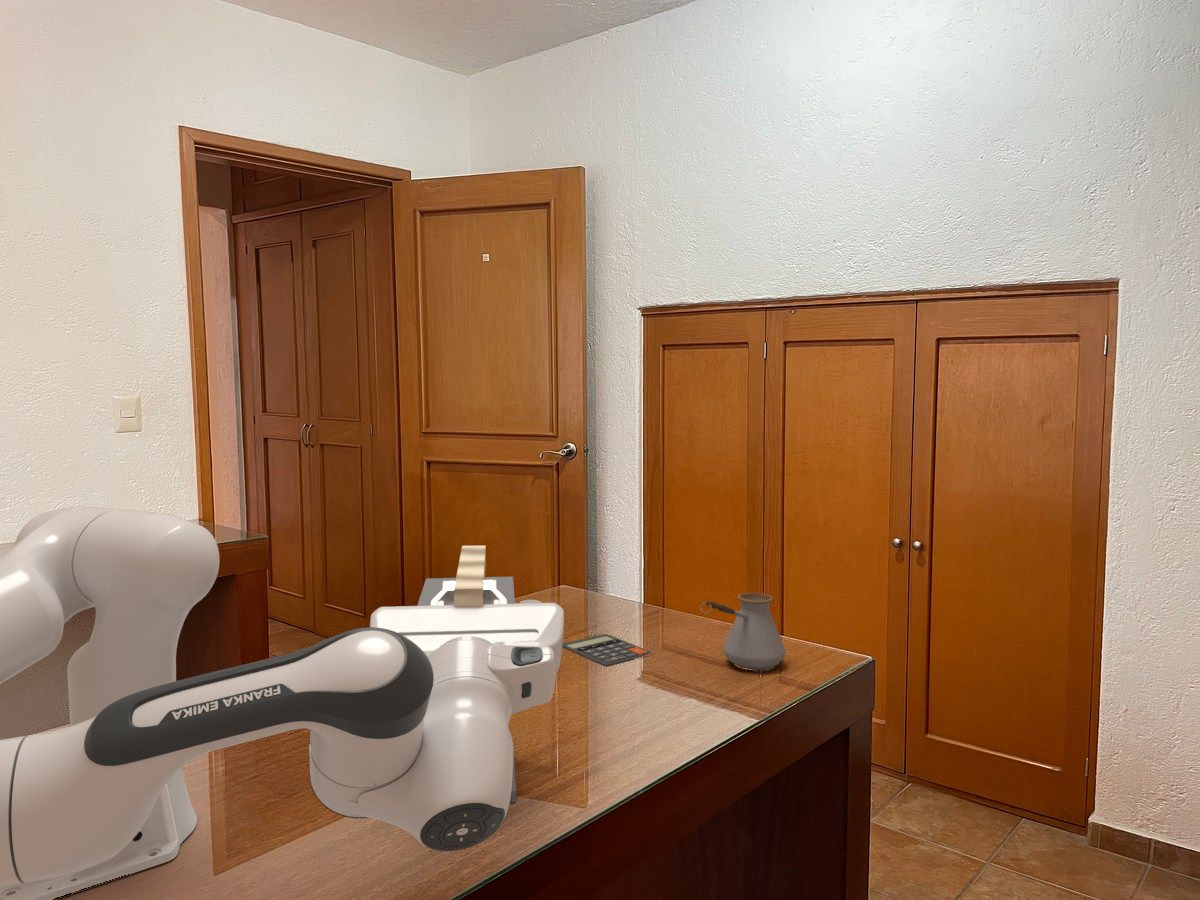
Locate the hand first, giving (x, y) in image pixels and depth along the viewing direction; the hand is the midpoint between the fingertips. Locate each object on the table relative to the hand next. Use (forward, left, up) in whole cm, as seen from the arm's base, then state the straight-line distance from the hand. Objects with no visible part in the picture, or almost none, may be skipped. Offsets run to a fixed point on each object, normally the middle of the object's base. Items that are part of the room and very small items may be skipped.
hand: (470, 584), depth 99 cm
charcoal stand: (+12, +13, -31) cm, 36 cm away
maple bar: (+4, +4, -2) cm, 6 cm away
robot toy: (+69, +59, -32) cm, 96 cm away
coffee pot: (+72, +6, -32) cm, 79 cm away
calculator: (+66, +32, -32) cm, 80 cm away
